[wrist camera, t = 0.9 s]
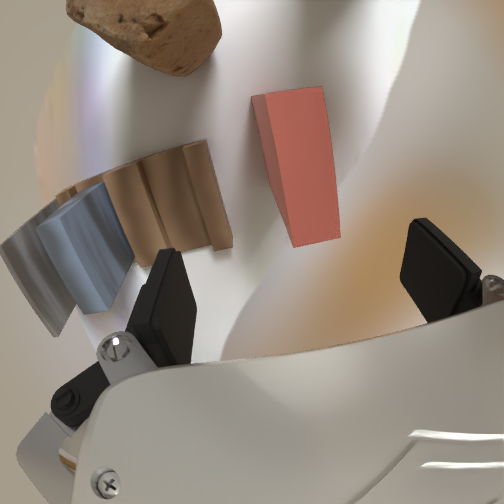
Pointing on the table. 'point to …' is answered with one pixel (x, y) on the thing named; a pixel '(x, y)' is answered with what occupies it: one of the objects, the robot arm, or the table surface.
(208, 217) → the book stand
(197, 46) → the block
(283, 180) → the book
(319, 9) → the table surface
